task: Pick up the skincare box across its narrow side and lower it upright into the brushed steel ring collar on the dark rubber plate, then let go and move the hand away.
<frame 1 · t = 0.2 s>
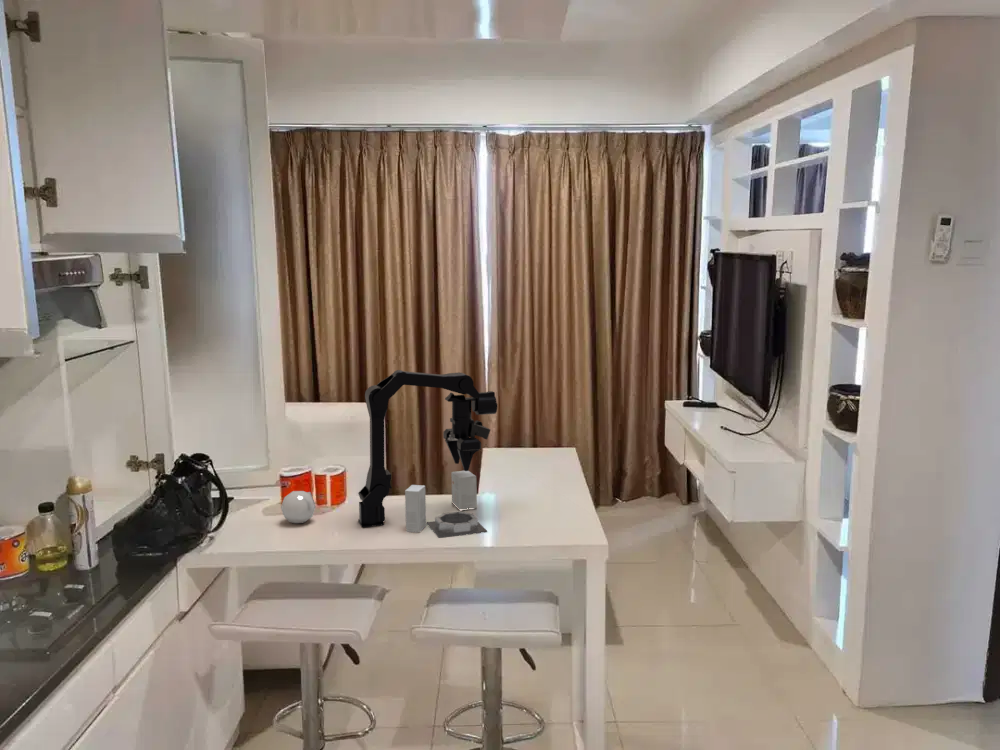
hand: (461, 467, 224), 14 cm above the breakfast bar, tool pointing down, fingers open, 9 cm apart
grey sphere: (299, 520, 221), on the breakfast bar
skincare box: (416, 529, 213), on the breakfast bar
ring collar: (456, 527, 214), on the breakfast bar
small box: (464, 507, 233), on the breakfast bar
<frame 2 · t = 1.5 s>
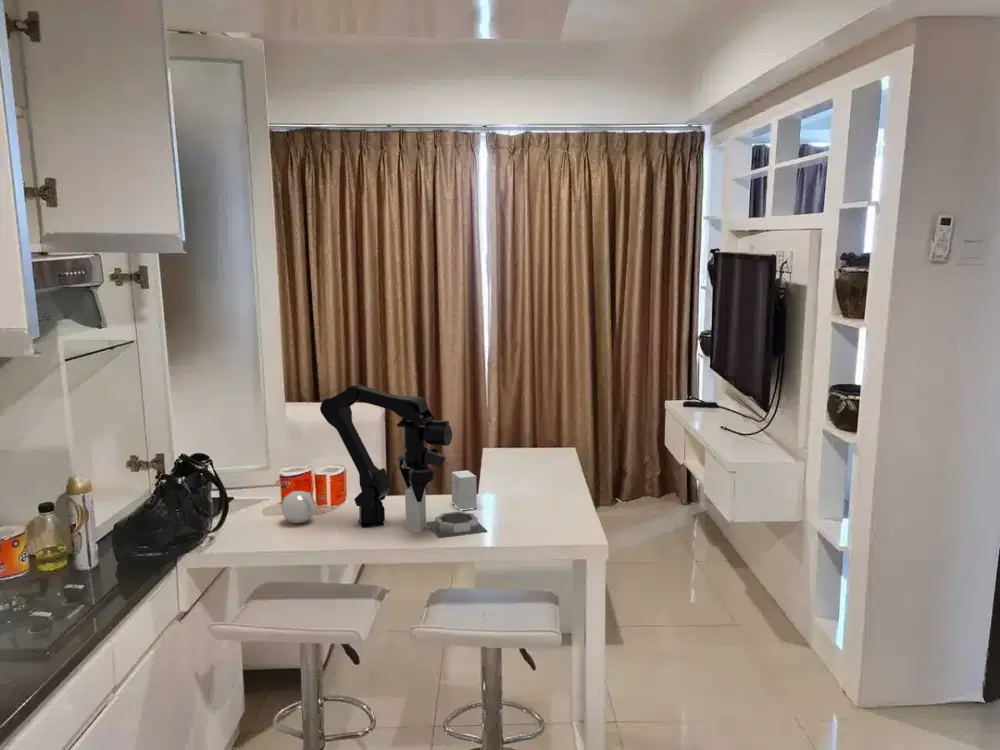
hand: (415, 497, 211), 9 cm above the breakfast bar, tool pointing down, fingers open, 9 cm apart
nothing on the breakfast bar moved.
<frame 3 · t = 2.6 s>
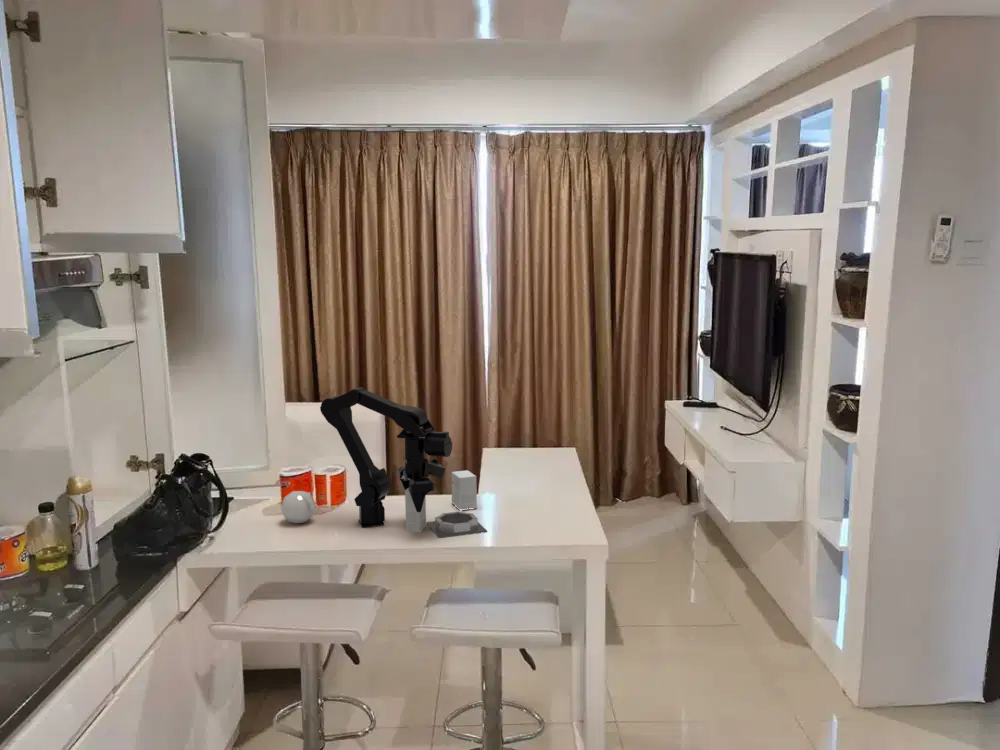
hand: (415, 508, 212), 6 cm above the breakfast bar, tool pointing down, fingers closed on skincare box, 7 cm apart
skincare box: (415, 529, 213), on the breakfast bar, touching gripper
everything else where it was.
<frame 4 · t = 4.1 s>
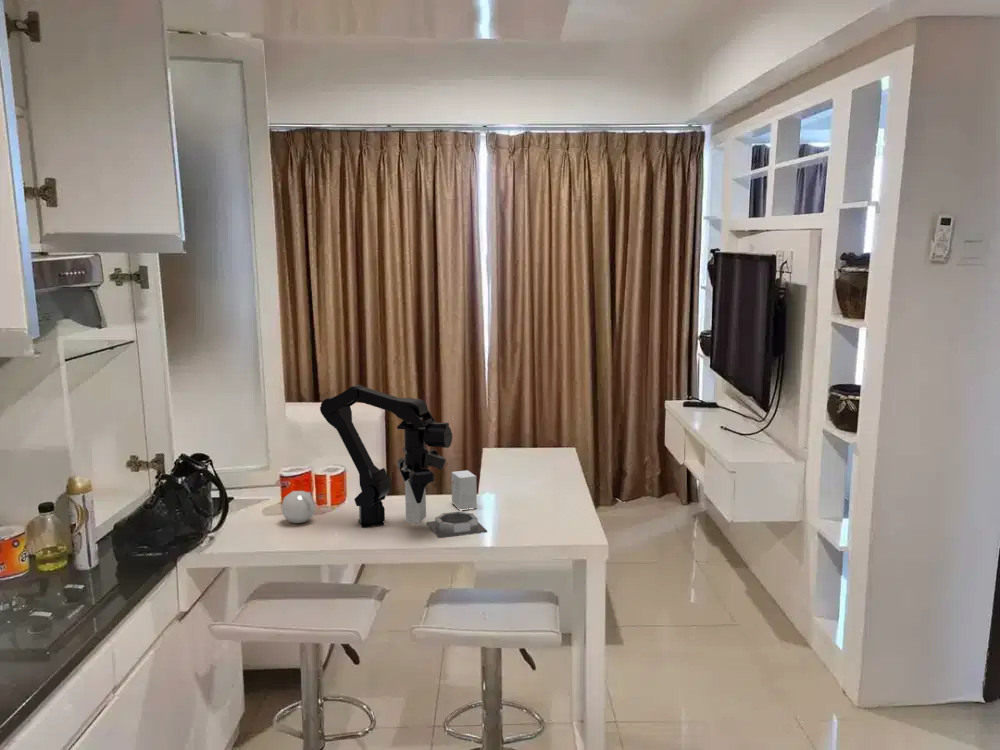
hand: (415, 499, 212), 9 cm above the breakfast bar, tool pointing down, fingers closed on skincare box, 7 cm apart
skincare box: (415, 520, 212), point 2 cm above the breakfast bar, touching gripper
everything else where it was.
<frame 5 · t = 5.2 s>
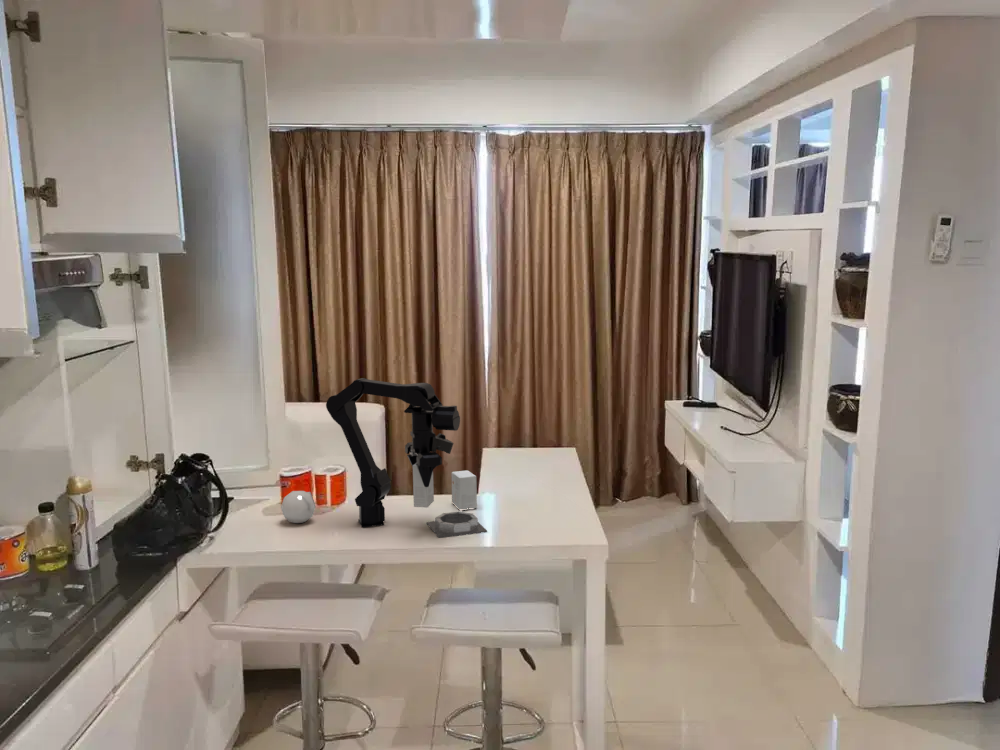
hand: (423, 483, 211), 13 cm above the breakfast bar, tool pointing down, fingers closed on skincare box, 7 cm apart
skincare box: (423, 505, 212), point 7 cm above the breakfast bar, touching gripper
everything else where it was.
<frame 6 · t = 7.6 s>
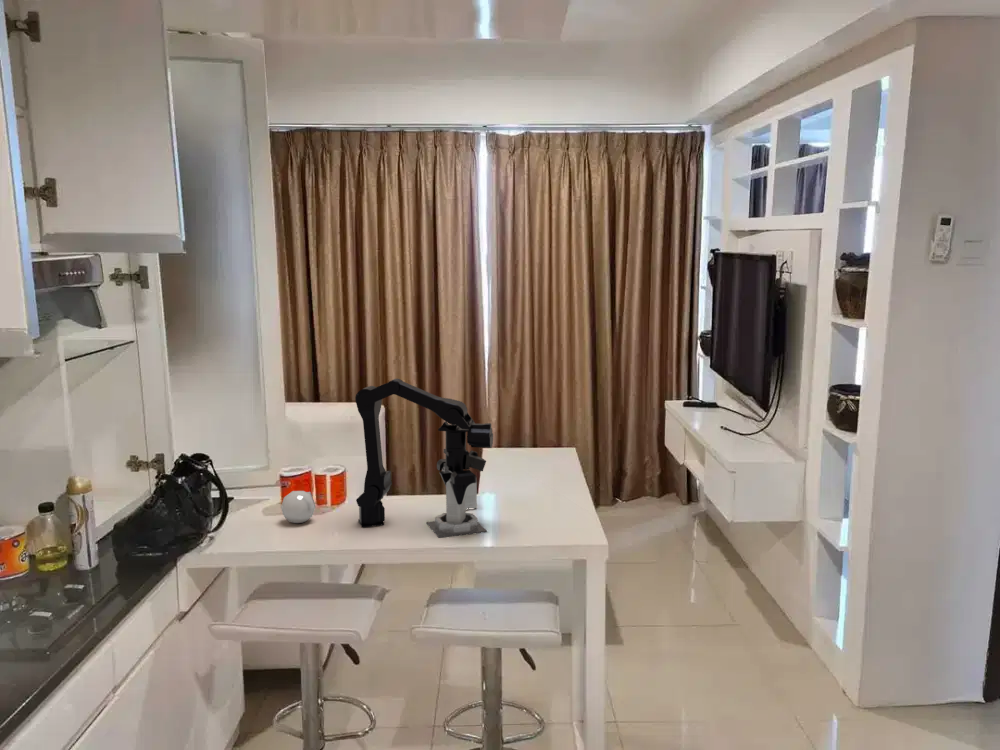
hand: (455, 500, 213), 8 cm above the breakfast bar, tool pointing down, fingers closed on skincare box, 7 cm apart
skincare box: (455, 521, 213), point 2 cm above the breakfast bar, touching gripper
everything else where it was.
when the fingers open (8 cm above the breakfast bar, at t = 8.0 s): skincare box drops 1 cm, resting on ring collar.
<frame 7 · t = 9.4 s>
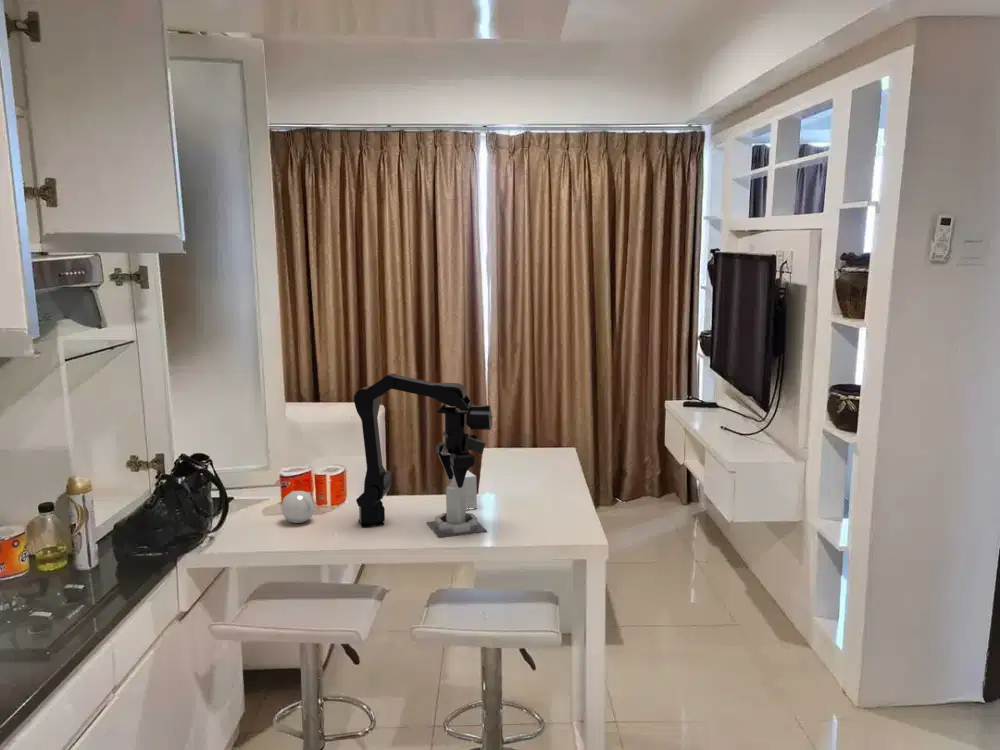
hand: (455, 483, 212), 13 cm above the breakfast bar, tool pointing down, fingers open, 9 cm apart
skincare box: (456, 527, 214), resting on ring collar
everything else where it was.
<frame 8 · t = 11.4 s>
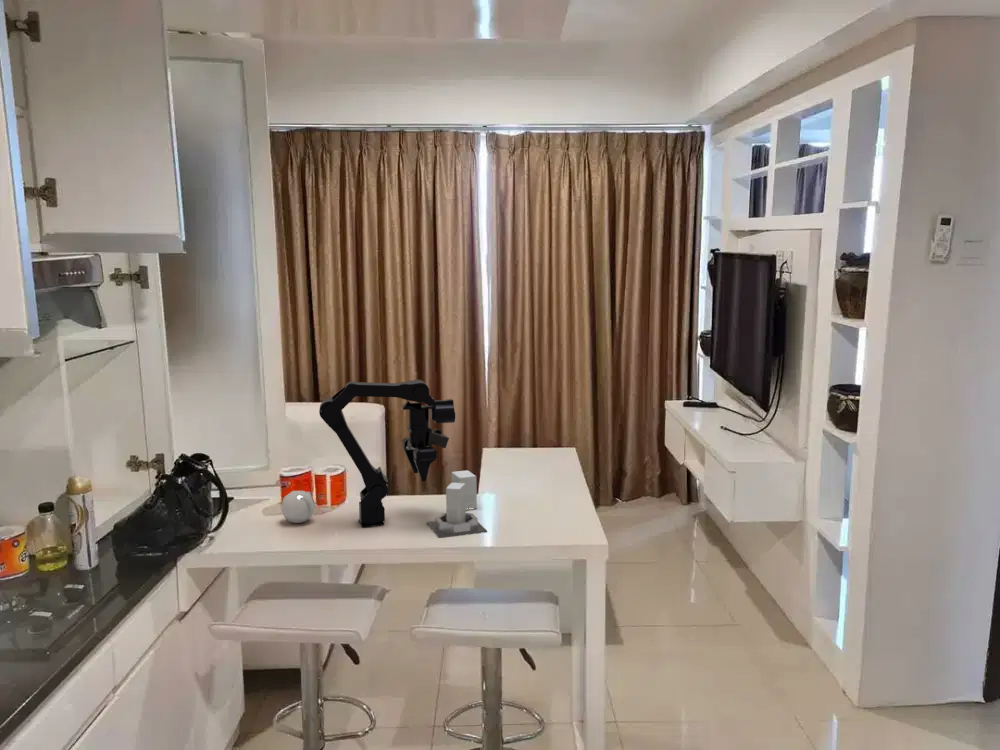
hand: (419, 476, 218), 13 cm above the breakfast bar, tool pointing down, fingers open, 9 cm apart
nothing on the breakfast bar moved.
at the end: skincare box 0.1 cm off-centre on the ring collar, point 0.2 cm above the ring collar's base; skincare box tilted 0°; the gripper is holding nothing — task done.
